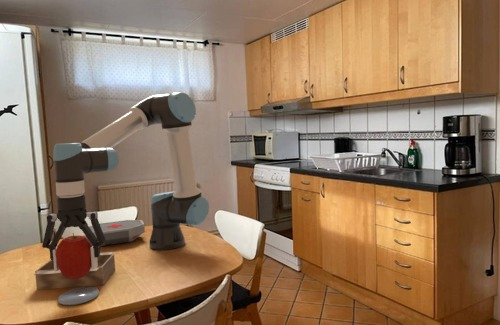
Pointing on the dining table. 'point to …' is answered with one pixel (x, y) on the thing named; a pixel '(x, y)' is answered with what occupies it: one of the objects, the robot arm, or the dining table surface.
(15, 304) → the dining table surface
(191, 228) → the dining table surface
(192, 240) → the dining table surface
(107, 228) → the first aid kit
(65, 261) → the apple
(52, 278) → the brown shallow open box
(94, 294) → the plate
